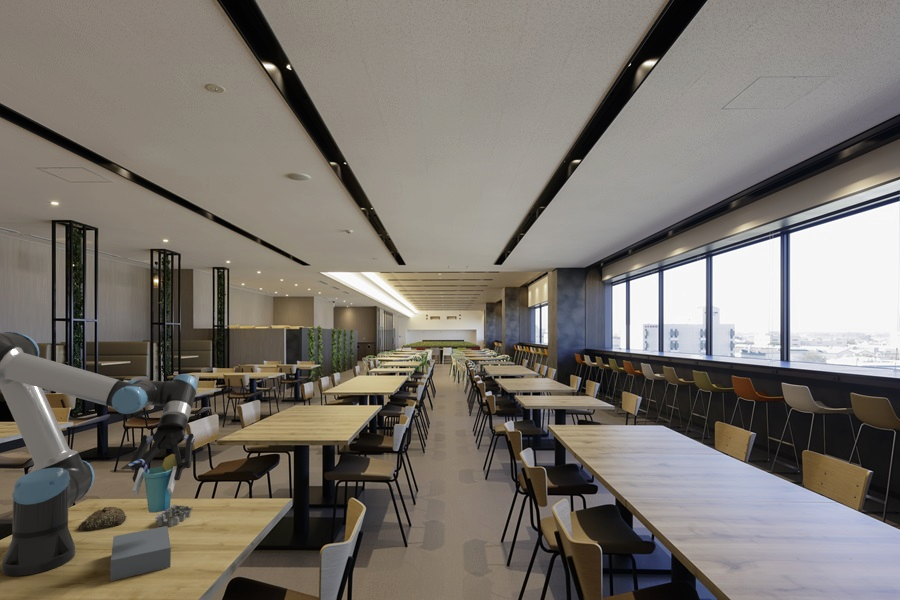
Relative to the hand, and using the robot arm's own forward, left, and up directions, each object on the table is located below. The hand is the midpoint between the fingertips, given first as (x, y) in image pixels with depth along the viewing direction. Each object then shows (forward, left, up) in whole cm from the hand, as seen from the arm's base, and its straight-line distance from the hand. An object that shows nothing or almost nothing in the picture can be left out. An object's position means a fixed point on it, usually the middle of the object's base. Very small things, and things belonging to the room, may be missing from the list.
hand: (152, 491), depth 134 cm
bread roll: (-12, +41, -19) cm, 47 cm away
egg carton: (+7, +30, -19) cm, 37 cm away
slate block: (-2, +3, -19) cm, 19 cm away
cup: (+1, +3, -6) cm, 7 cm away
